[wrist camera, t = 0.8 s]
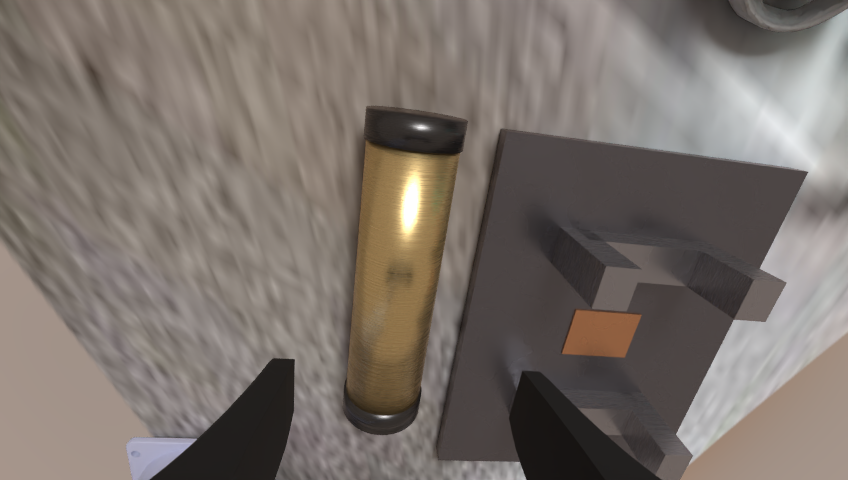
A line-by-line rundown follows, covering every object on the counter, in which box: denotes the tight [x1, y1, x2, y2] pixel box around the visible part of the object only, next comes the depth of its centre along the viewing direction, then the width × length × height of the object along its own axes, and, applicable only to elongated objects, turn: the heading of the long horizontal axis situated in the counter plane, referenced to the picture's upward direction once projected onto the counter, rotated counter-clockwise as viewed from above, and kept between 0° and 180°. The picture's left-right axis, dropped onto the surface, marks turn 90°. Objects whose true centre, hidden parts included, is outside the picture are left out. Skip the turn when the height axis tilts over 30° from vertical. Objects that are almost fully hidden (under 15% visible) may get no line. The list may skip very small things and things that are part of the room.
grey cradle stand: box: [437, 129, 808, 480], centre depth 21 cm, size 21×16×6 cm
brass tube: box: [343, 106, 468, 435], centre depth 19 cm, size 16×4×4 cm, turn 172°
